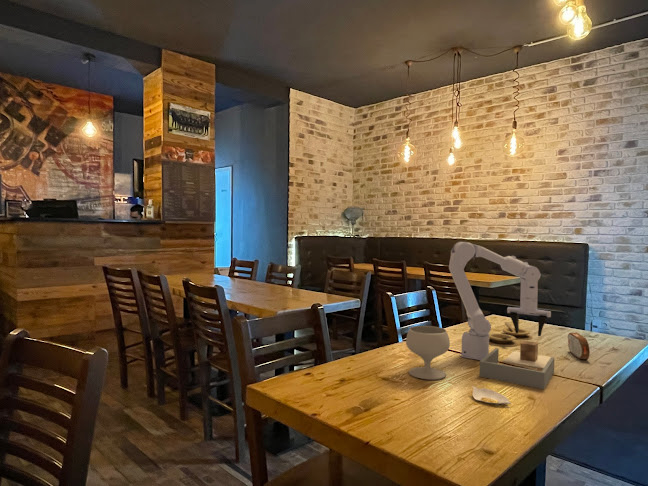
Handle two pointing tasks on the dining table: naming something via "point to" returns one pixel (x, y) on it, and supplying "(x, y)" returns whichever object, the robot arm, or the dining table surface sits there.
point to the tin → (578, 346)
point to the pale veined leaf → (489, 395)
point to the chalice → (427, 349)
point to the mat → (515, 359)
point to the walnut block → (529, 351)
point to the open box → (515, 372)
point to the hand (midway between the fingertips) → (528, 334)
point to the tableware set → (508, 337)
